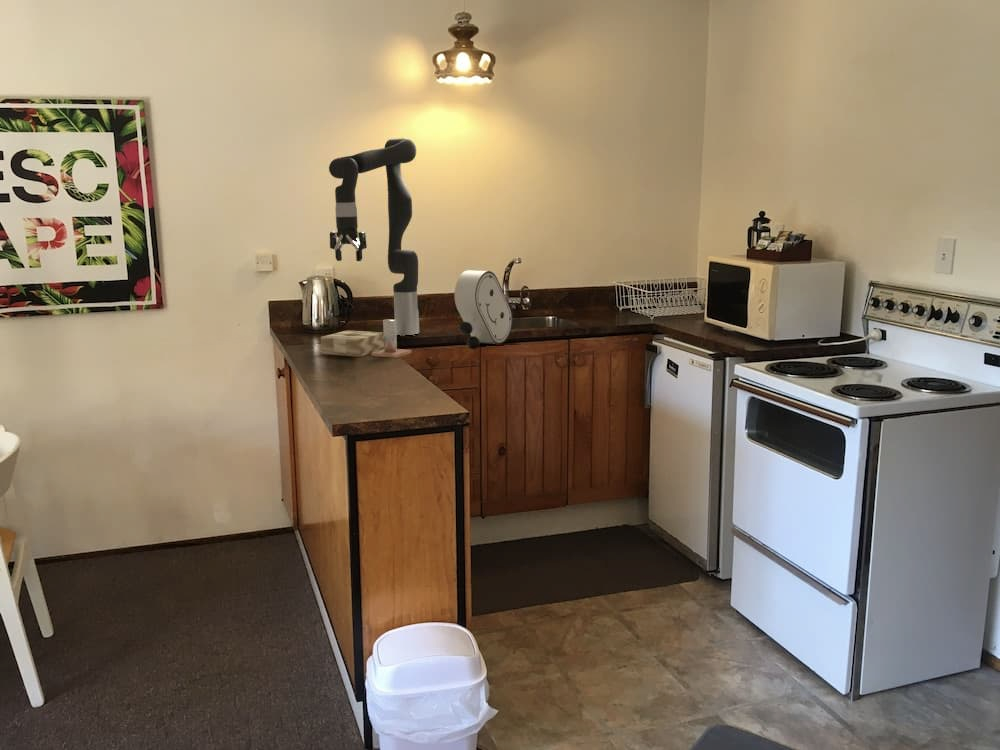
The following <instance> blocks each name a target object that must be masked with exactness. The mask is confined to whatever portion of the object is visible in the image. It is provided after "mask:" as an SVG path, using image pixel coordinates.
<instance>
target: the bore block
mask: <svg viewBox="0 0 1000 750" xmlns="http://www.w3.org/2000/svg"><path fill="white" fill-rule="evenodd" d="M320 348H321V354H322V355H330V356H331V355H332V356H343V357H344V356H346V357H357V358H360V357H364V356H367V355H369V354H370V355H371V353H373V352H377V351H380V350H383V349H384V332H383V331H381V332H379V331H378V332H377V331H363V330H350V329H349V330H343V331H339V332H335V333H332V334H327V335H323V336H320Z"/></svg>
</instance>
